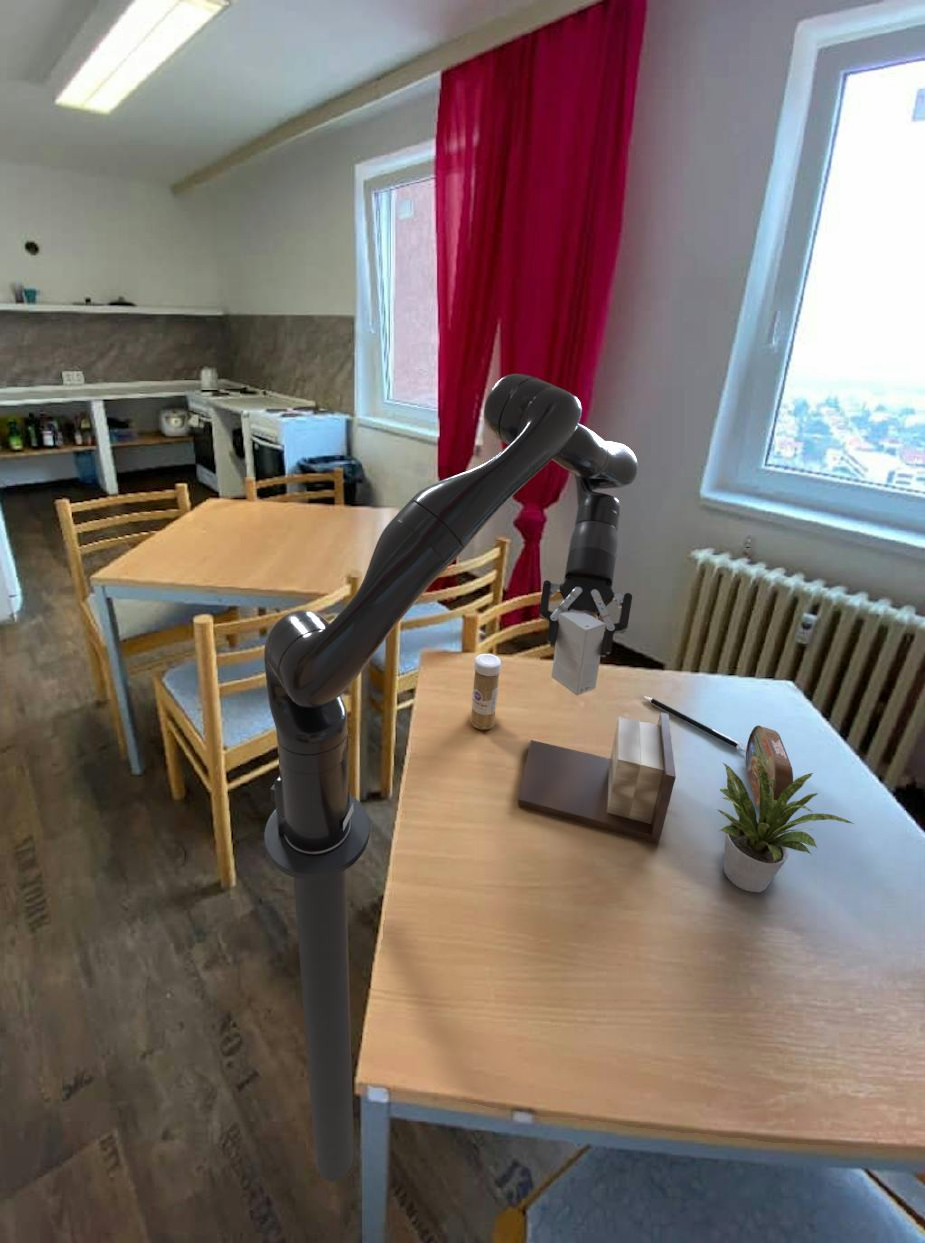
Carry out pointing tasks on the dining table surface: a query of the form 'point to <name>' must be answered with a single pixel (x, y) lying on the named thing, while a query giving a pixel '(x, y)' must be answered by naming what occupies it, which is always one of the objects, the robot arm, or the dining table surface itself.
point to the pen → (697, 724)
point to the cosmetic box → (578, 651)
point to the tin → (768, 761)
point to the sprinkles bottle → (485, 691)
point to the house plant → (763, 830)
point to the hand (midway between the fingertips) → (577, 651)
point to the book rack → (606, 780)
